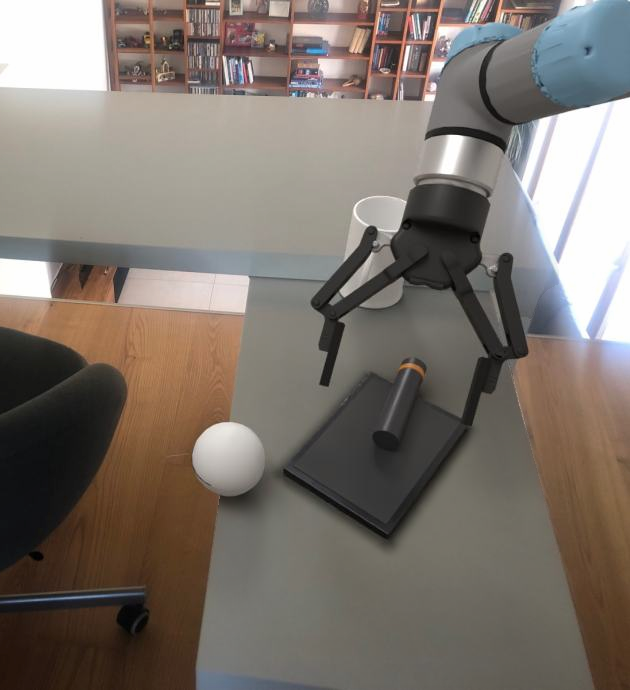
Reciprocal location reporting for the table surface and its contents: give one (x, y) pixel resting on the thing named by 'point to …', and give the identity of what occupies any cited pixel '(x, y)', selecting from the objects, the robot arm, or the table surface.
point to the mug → (388, 220)
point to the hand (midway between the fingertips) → (392, 405)
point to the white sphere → (228, 459)
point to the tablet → (374, 457)
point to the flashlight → (399, 404)
